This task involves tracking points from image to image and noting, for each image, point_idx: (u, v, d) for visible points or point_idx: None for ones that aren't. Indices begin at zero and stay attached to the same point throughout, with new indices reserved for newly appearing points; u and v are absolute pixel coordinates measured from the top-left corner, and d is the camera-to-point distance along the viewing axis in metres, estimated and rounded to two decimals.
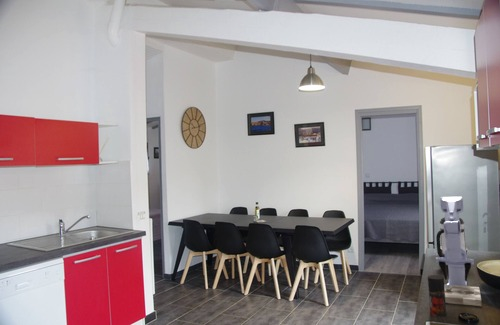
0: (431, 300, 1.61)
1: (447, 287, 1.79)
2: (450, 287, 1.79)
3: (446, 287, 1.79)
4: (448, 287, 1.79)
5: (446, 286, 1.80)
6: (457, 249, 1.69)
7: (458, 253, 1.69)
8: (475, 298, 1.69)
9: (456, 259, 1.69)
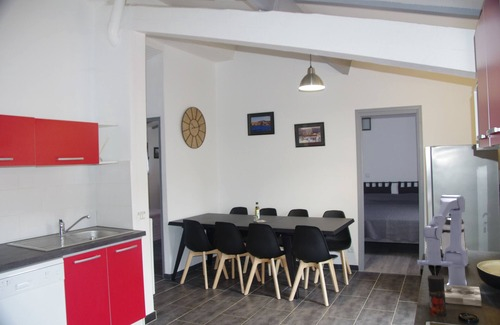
0: (431, 300, 1.61)
1: (447, 287, 1.79)
2: (450, 287, 1.79)
3: (446, 287, 1.79)
4: (448, 287, 1.79)
5: (446, 286, 1.80)
6: (437, 253, 1.80)
7: (438, 256, 1.80)
8: (475, 298, 1.69)
9: (436, 262, 1.80)
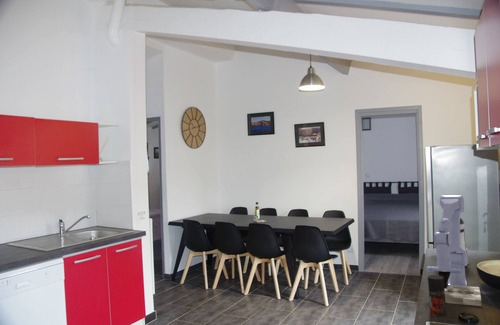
0: (431, 300, 1.61)
1: (449, 287, 1.79)
2: (451, 288, 1.79)
3: (447, 287, 1.79)
4: (450, 288, 1.79)
5: (448, 286, 1.79)
6: (447, 259, 1.78)
7: (447, 263, 1.78)
8: (475, 298, 1.69)
9: (446, 268, 1.78)
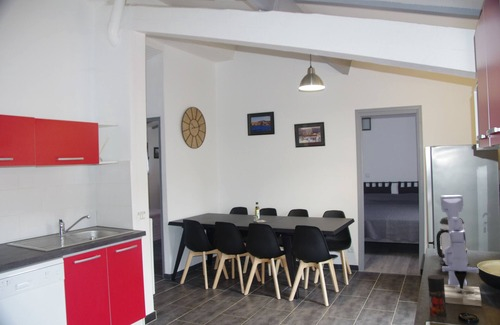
0: (431, 300, 1.61)
1: (458, 289, 1.76)
2: (456, 289, 1.77)
3: (459, 289, 1.76)
4: (457, 289, 1.77)
5: (460, 290, 1.76)
6: (462, 258, 1.75)
7: (463, 262, 1.75)
8: (475, 298, 1.69)
9: (462, 268, 1.74)
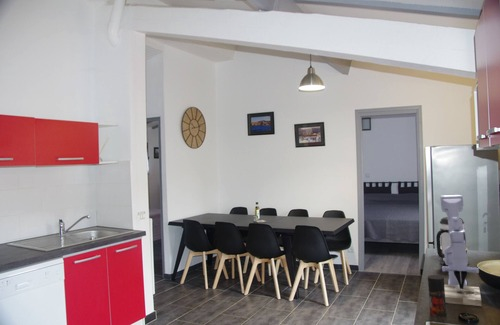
0: (431, 300, 1.61)
1: (458, 289, 1.76)
2: (456, 289, 1.77)
3: (459, 289, 1.76)
4: (458, 289, 1.77)
5: (460, 290, 1.76)
6: (462, 258, 1.75)
7: (463, 262, 1.75)
8: (475, 298, 1.69)
9: (462, 268, 1.74)
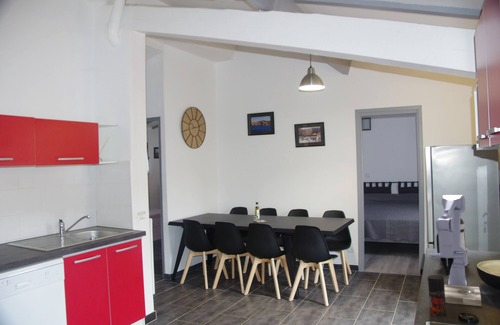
0: (431, 300, 1.61)
1: None
2: None
3: None
4: None
5: None
6: (449, 245, 1.78)
7: (450, 249, 1.78)
8: (475, 298, 1.69)
9: (448, 255, 1.78)
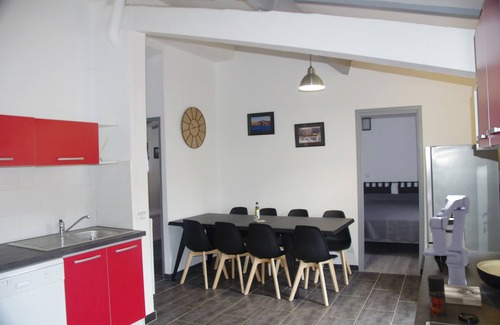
0: (431, 300, 1.61)
1: None
2: None
3: None
4: None
5: None
6: (442, 243, 1.82)
7: (443, 247, 1.82)
8: (475, 298, 1.69)
9: (442, 252, 1.82)
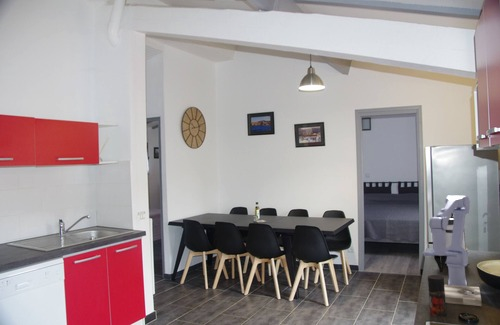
0: (431, 300, 1.61)
1: None
2: None
3: None
4: None
5: None
6: (442, 243, 1.82)
7: (443, 247, 1.82)
8: (475, 298, 1.69)
9: (442, 252, 1.82)
